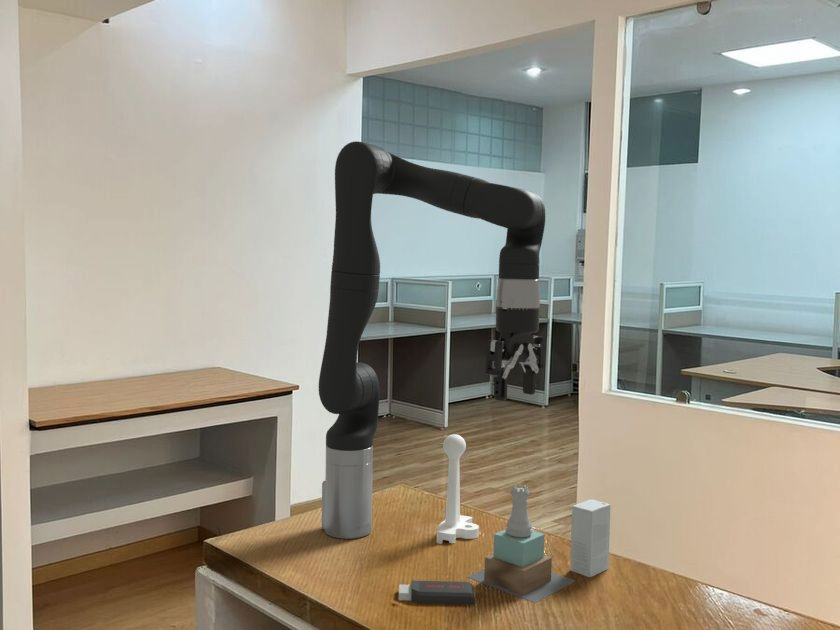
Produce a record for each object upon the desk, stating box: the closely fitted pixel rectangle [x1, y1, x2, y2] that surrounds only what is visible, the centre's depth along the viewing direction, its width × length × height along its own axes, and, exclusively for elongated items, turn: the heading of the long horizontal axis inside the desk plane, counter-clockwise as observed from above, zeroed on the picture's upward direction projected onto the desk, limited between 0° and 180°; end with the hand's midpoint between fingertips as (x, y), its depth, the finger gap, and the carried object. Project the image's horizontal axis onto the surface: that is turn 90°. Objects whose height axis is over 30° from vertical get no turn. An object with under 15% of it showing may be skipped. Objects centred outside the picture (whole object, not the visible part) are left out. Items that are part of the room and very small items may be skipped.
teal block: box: [492, 528, 545, 567], centre depth 130 cm, size 6×6×4 cm
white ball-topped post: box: [436, 433, 480, 545], centre depth 152 cm, size 11×8×20 cm
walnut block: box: [483, 553, 553, 595], centre depth 131 cm, size 8×8×4 cm
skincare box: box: [570, 498, 611, 578], centre depth 136 cm, size 6×4×12 cm
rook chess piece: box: [505, 484, 533, 538], centre depth 130 cm, size 4×4×8 cm
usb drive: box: [398, 580, 476, 605], centre depth 124 cm, size 5×12×3 cm, turn 90°
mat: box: [466, 568, 576, 604], centre depth 132 cm, size 14×12×1 cm
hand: (514, 396), depth 137 cm, fingers open, 8 cm apart
